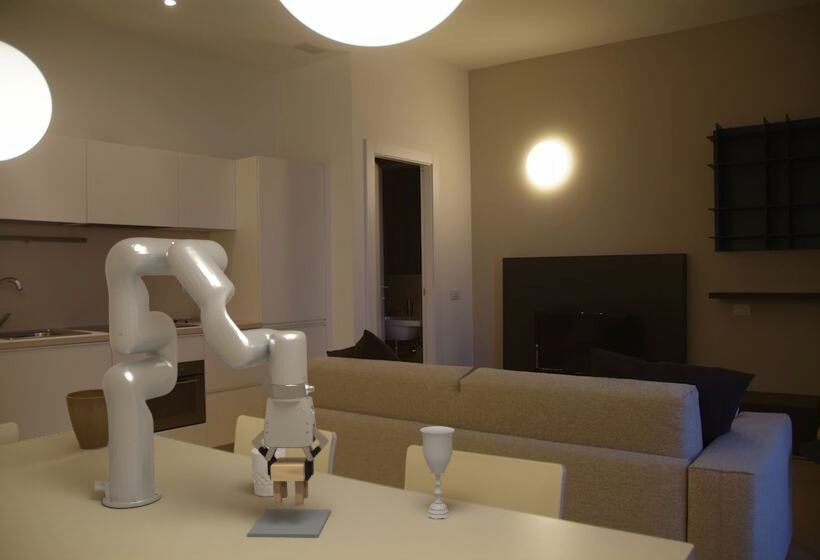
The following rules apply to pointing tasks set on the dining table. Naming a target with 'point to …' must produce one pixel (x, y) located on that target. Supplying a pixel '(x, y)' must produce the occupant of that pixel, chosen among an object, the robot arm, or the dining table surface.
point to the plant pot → (89, 417)
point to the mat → (290, 523)
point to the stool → (289, 478)
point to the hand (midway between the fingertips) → (290, 478)
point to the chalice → (437, 462)
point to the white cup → (263, 472)
